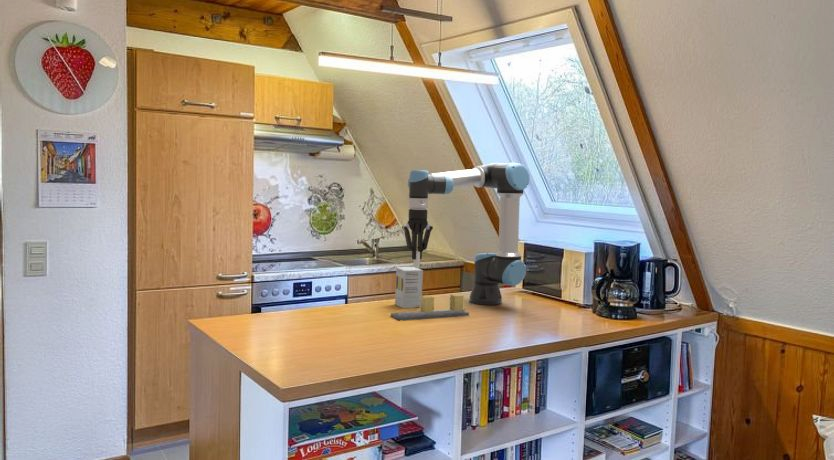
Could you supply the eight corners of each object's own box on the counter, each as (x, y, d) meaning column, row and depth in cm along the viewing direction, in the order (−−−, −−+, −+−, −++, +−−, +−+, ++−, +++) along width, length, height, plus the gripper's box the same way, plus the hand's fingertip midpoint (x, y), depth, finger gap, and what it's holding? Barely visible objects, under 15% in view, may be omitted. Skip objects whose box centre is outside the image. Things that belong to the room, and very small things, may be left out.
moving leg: (417, 311, 263) (417, 294, 262) (425, 310, 265) (426, 294, 264) (424, 314, 257) (425, 297, 256) (433, 314, 259) (434, 297, 258)
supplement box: (394, 304, 282) (395, 267, 281) (413, 303, 286) (414, 266, 285) (402, 308, 274) (404, 270, 272) (422, 307, 278) (423, 269, 276)
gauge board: (390, 316, 259) (391, 295, 258) (458, 311, 273) (459, 292, 272) (399, 320, 251) (399, 299, 250) (468, 315, 265) (469, 295, 264)
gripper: (407, 209, 246) (405, 269, 248) (436, 209, 251) (435, 268, 254) (399, 208, 253) (397, 266, 255) (428, 208, 258) (426, 265, 260)
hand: (416, 267), depth 254 cm, fingers closed
